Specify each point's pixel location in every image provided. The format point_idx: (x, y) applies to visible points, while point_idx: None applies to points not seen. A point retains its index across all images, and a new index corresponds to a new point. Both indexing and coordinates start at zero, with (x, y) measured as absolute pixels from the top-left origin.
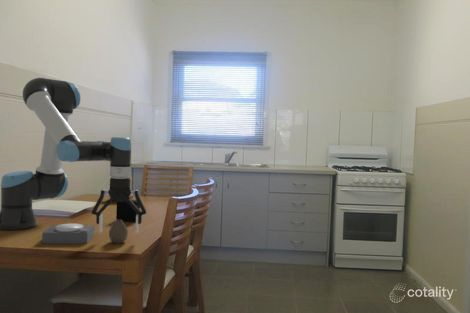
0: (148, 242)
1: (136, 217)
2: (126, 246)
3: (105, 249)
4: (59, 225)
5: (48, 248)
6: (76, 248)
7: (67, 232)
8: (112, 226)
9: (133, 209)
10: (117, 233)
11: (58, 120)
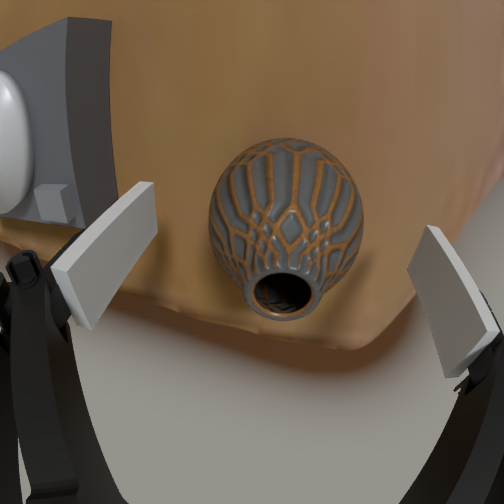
0: (453, 221)
1: (444, 367)
2: None
3: (228, 295)
4: None
5: (36, 247)
6: None
7: (13, 211)
8: (227, 274)
9: (438, 441)
10: (278, 281)
11: None
